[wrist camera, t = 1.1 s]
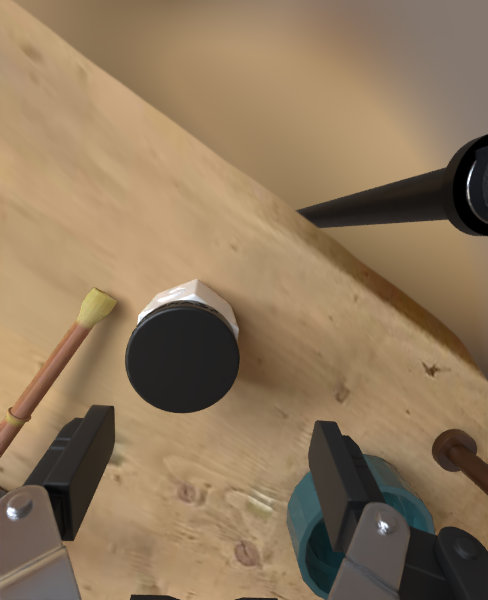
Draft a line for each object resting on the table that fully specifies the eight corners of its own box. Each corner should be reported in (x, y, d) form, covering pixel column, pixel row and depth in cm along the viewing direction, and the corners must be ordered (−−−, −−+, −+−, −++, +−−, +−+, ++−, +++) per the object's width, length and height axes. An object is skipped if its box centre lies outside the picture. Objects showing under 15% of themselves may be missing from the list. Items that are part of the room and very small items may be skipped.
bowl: (271, 473, 40) (282, 515, 34) (391, 433, 40) (422, 466, 35) (302, 571, 43) (317, 624, 37) (412, 532, 44) (444, 578, 38)
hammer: (119, 315, 24) (-167, 720, 20) (136, 308, 39) (-24, 537, 36) (44, 269, 23) (-274, 690, 19) (92, 280, 38) (-79, 514, 35)
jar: (217, 269, 34) (222, 286, 22) (243, 338, 36) (260, 388, 24) (135, 299, 34) (98, 332, 22) (166, 368, 36) (146, 432, 24)
